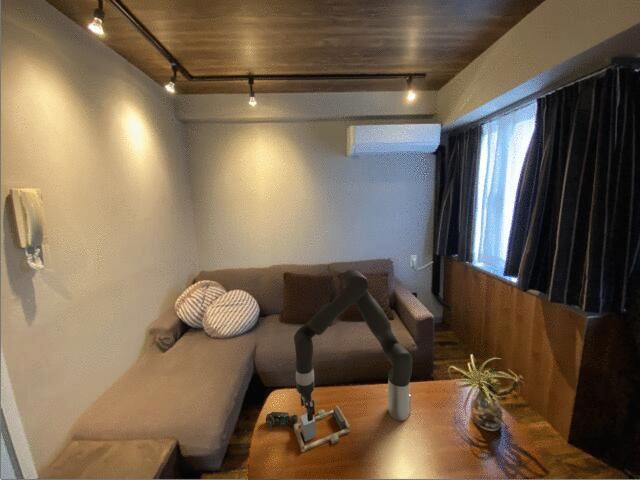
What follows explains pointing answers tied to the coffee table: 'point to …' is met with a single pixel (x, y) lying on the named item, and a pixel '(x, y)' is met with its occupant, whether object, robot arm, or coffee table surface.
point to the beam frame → (333, 437)
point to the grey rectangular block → (307, 428)
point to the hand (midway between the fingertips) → (306, 412)
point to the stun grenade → (281, 419)
